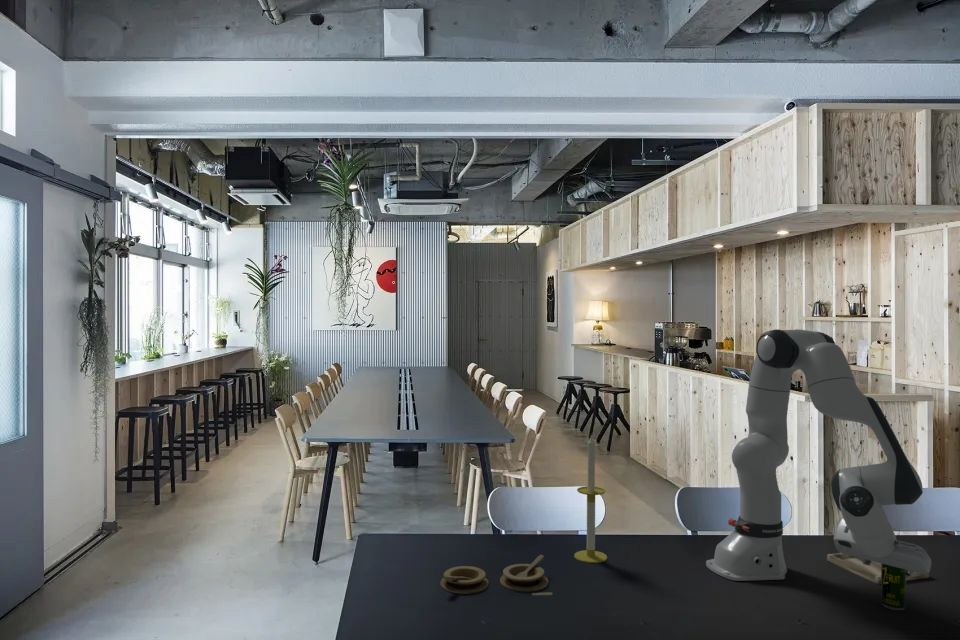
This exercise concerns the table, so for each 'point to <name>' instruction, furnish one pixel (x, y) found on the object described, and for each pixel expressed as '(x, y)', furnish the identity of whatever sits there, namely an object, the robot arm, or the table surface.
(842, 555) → the birch tray
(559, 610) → the table surface
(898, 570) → the beer can
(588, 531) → the candle
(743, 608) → the table surface
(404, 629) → the table surface
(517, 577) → the tableware set
